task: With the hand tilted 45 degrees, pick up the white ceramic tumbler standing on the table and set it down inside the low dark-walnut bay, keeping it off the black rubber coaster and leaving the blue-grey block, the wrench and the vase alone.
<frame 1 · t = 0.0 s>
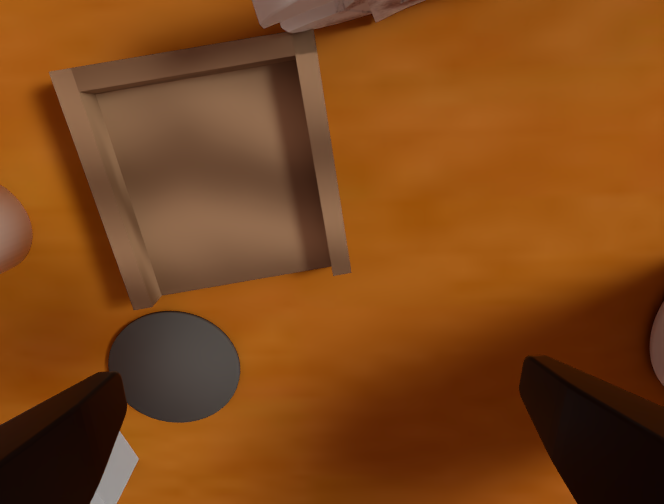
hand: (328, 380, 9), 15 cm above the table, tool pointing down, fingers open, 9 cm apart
coaster: (176, 367, 25), on the table
block: (97, 445, 27), on the table
bay: (223, 176, 22), on the table
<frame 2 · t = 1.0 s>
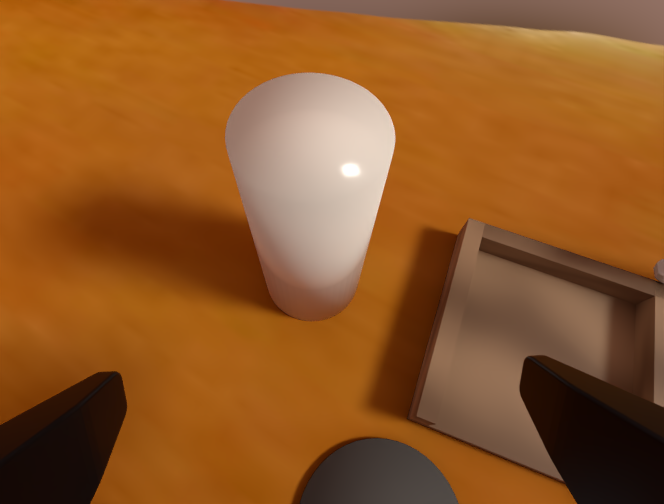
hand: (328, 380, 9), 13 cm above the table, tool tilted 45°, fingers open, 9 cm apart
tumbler: (312, 276, 24), on the table
bay: (536, 354, 23), on the table
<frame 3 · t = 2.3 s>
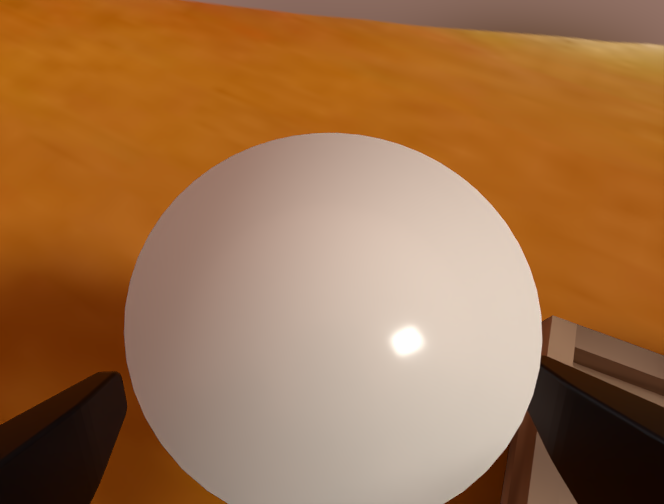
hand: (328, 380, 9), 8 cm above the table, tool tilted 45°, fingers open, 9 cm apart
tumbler: (321, 399, 17), on the table
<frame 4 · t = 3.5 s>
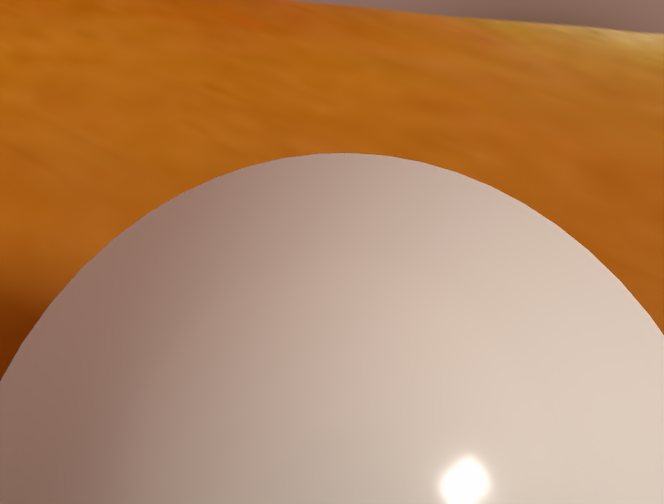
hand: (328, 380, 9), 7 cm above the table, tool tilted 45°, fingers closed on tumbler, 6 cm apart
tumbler: (324, 450, 14), on the table, touching gripper
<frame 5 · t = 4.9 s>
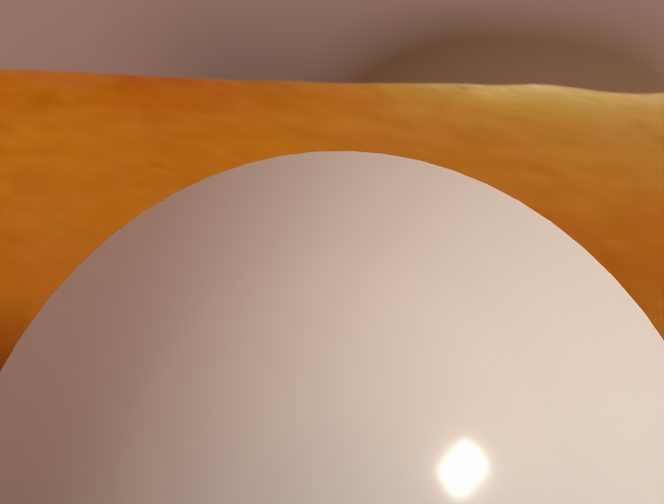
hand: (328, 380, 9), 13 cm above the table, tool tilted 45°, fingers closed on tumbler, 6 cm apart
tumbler: (323, 449, 14), point 7 cm above the table, touching gripper
when the fingers open (8 cm above the table, at t = 6.8 s): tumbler drops 1 cm, resting on bay.
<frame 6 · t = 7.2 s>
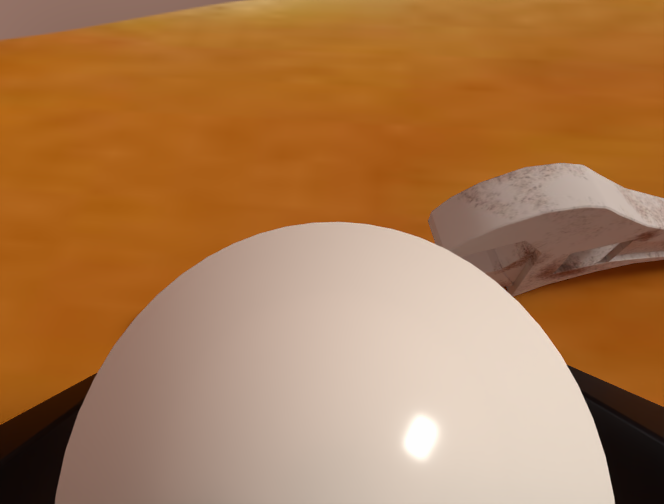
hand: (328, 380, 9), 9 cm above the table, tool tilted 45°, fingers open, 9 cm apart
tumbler: (322, 451, 15), point 1 cm above the table, touching bay
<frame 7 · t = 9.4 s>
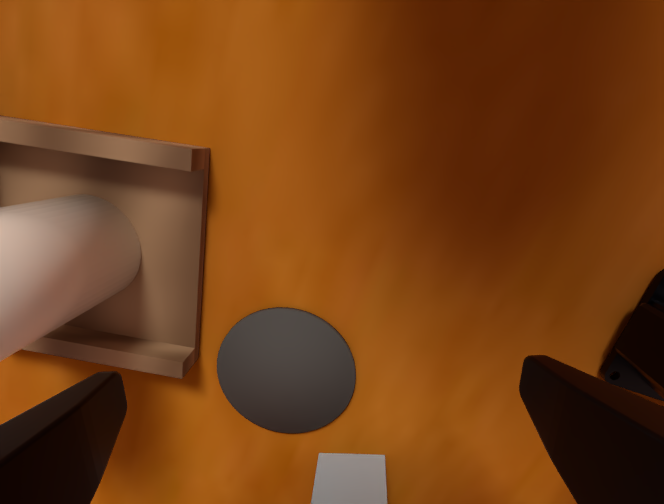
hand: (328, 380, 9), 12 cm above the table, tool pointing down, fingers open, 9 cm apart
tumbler: (90, 246, 21), point 1 cm above the table, touching bay
coaster: (286, 371, 23), on the table
block: (352, 479, 25), on the table
bay: (97, 243, 22), on the table
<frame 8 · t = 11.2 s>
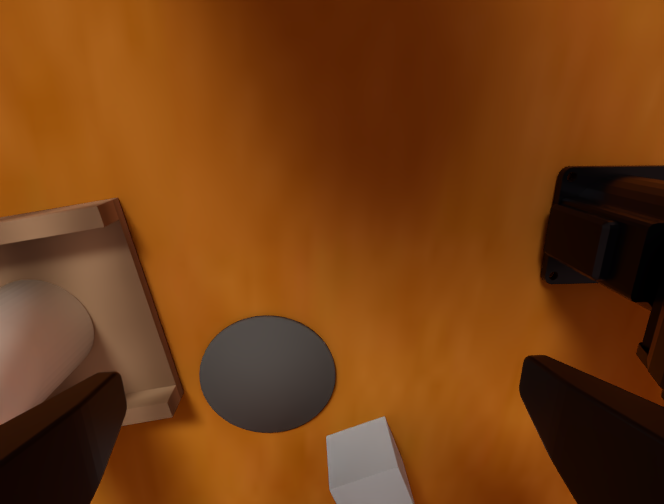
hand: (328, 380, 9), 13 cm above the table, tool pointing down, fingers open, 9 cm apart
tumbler: (40, 327, 21), point 1 cm above the table, touching bay
coaster: (268, 375, 24), on the table
block: (365, 447, 26), on the table
bay: (46, 322, 22), on the table
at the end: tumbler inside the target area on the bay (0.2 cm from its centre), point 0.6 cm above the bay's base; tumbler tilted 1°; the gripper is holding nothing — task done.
